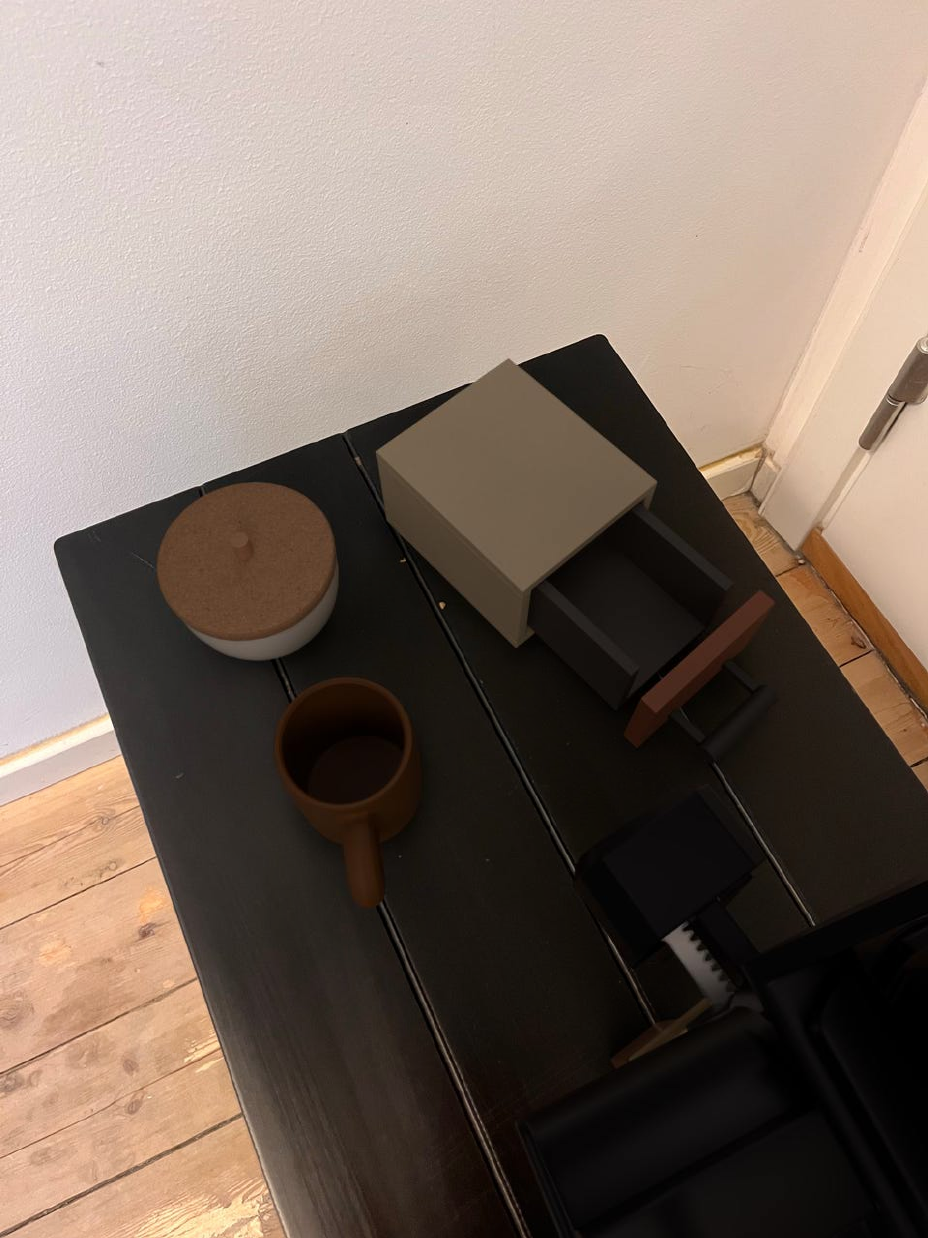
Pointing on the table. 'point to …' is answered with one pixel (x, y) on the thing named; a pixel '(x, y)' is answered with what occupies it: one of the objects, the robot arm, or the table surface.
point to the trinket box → (251, 570)
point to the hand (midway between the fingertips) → (734, 1049)
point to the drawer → (650, 627)
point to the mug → (351, 772)
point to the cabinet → (505, 491)
